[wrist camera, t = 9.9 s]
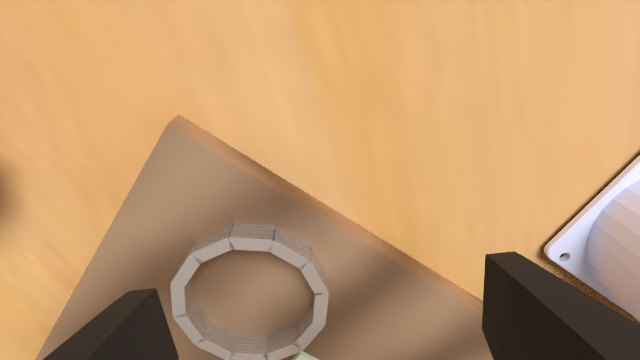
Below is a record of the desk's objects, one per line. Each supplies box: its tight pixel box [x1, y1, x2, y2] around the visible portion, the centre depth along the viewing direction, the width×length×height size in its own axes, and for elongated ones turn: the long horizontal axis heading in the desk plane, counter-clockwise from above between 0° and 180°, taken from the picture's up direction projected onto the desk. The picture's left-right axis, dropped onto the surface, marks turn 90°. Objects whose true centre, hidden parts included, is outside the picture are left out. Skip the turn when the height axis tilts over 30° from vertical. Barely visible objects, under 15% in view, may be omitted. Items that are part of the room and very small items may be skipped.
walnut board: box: [35, 115, 494, 360], centre depth 22 cm, size 22×16×2 cm
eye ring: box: [170, 223, 329, 360], centre depth 19 cm, size 7×7×1 cm
